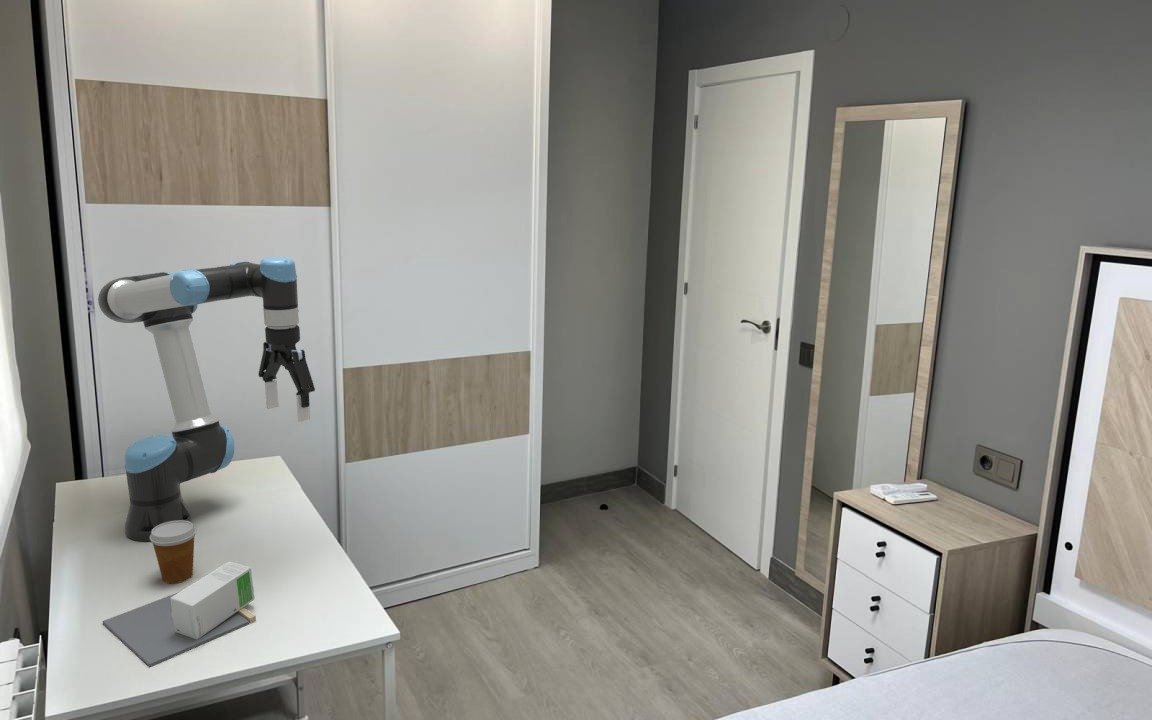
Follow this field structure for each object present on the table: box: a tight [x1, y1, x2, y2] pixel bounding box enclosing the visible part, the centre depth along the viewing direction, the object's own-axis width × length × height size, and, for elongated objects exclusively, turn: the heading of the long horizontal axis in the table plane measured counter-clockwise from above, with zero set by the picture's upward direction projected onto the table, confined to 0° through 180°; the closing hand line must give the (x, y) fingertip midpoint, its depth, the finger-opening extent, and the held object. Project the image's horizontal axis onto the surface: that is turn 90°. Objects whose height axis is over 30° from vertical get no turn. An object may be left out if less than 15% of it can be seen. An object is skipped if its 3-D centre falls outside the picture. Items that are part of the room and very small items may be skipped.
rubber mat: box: [102, 591, 257, 668], centre depth 172 cm, size 22×22×1 cm
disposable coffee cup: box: [150, 520, 197, 584], centre depth 189 cm, size 10×10×12 cm
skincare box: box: [170, 560, 255, 640], centre depth 172 cm, size 8×7×16 cm
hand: (288, 413), depth 197 cm, fingers open, 13 cm apart
